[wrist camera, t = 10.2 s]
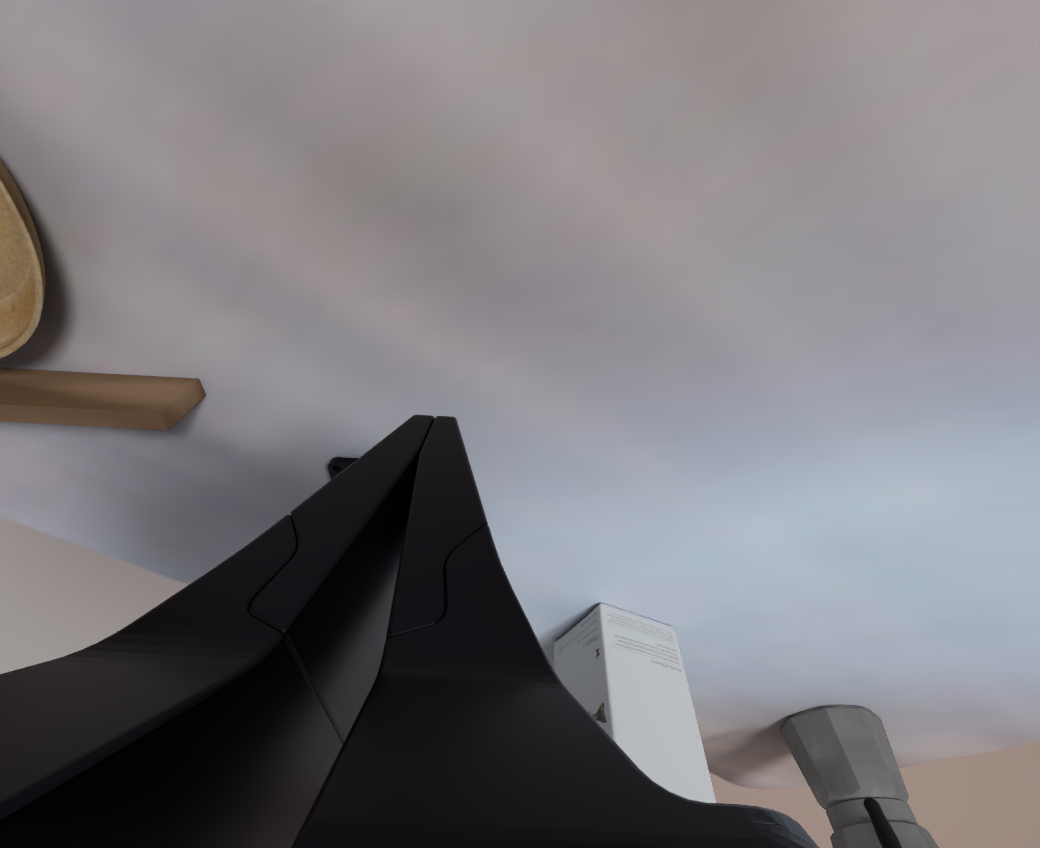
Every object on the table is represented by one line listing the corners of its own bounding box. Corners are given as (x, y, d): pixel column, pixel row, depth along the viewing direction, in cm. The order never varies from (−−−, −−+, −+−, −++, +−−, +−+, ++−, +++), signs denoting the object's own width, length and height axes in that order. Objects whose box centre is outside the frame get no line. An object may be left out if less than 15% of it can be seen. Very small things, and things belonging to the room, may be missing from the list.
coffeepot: (880, 739, 48) (1025, 1018, 34) (786, 750, 51) (883, 1012, 36) (877, 678, 40) (1067, 1012, 26) (765, 694, 43) (879, 1004, 28)
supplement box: (598, 599, 34) (623, 816, 24) (676, 626, 36) (730, 837, 26) (549, 641, 38) (553, 842, 28) (622, 663, 40) (650, 859, 30)
